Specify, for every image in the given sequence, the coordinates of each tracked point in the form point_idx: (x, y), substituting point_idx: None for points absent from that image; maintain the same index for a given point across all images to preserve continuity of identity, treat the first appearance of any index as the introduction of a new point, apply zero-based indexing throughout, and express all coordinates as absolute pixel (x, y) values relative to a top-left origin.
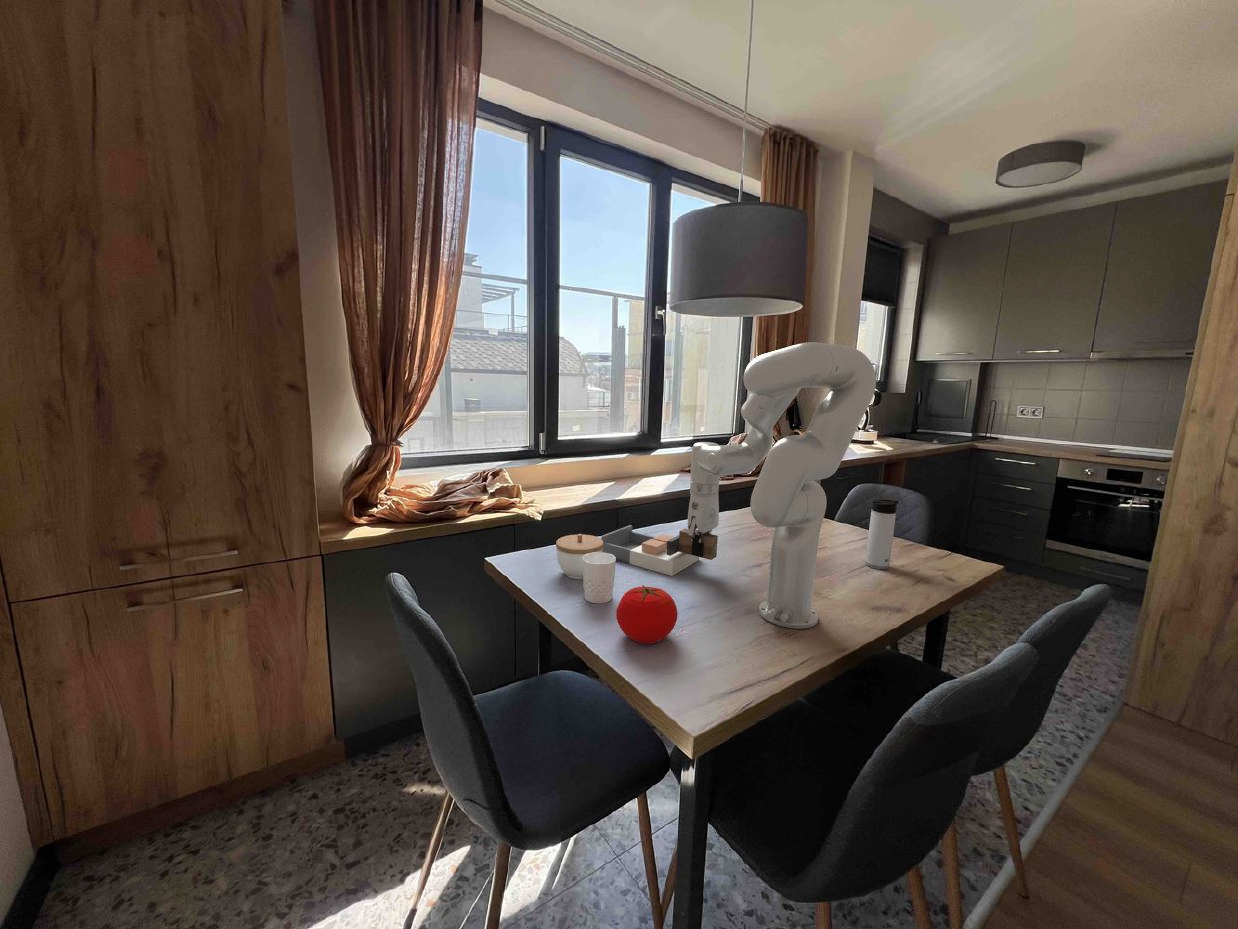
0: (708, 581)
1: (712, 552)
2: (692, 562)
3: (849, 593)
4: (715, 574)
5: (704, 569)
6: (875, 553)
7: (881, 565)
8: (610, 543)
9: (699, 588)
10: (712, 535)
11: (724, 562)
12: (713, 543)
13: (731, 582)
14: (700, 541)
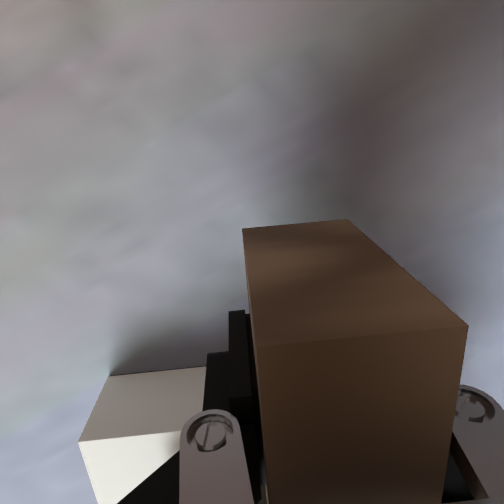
0: (361, 169)
1: (350, 242)
2: (191, 372)
3: None
4: (232, 196)
5: (212, 282)
6: None
7: None
8: None
9: (488, 153)
10: (312, 403)
11: (7, 259)
12: (377, 285)
13: (277, 43)
14: (496, 404)
